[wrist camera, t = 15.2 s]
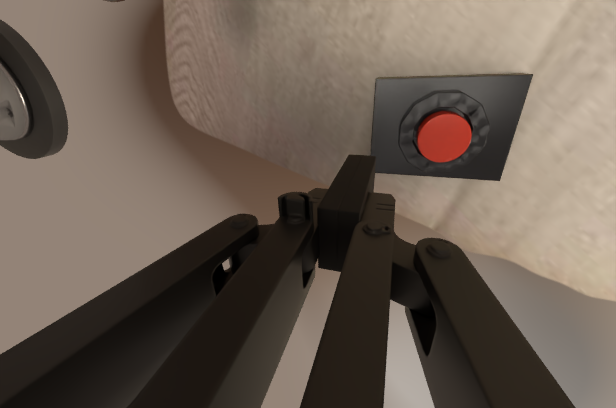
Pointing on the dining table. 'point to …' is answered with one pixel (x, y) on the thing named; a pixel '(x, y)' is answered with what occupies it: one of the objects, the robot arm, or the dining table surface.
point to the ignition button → (443, 136)
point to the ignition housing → (447, 97)
